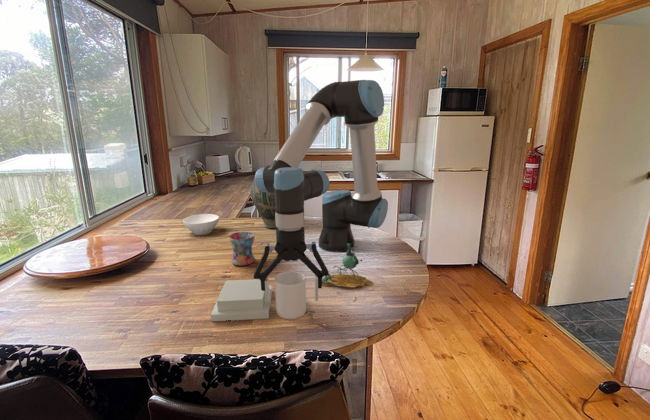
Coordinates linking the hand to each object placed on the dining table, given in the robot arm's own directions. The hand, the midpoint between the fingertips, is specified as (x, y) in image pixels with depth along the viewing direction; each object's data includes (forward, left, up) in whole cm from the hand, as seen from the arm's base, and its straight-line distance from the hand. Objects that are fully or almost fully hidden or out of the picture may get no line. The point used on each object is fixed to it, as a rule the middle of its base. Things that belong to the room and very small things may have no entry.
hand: (292, 299), depth 95 cm
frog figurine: (-17, -14, -3) cm, 23 cm away
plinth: (+14, -3, -3) cm, 14 cm away
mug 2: (0, 0, -3) cm, 3 cm away
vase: (+9, -77, -3) cm, 78 cm away
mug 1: (+18, -35, -3) cm, 40 cm away
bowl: (+43, -71, -3) cm, 83 cm away
